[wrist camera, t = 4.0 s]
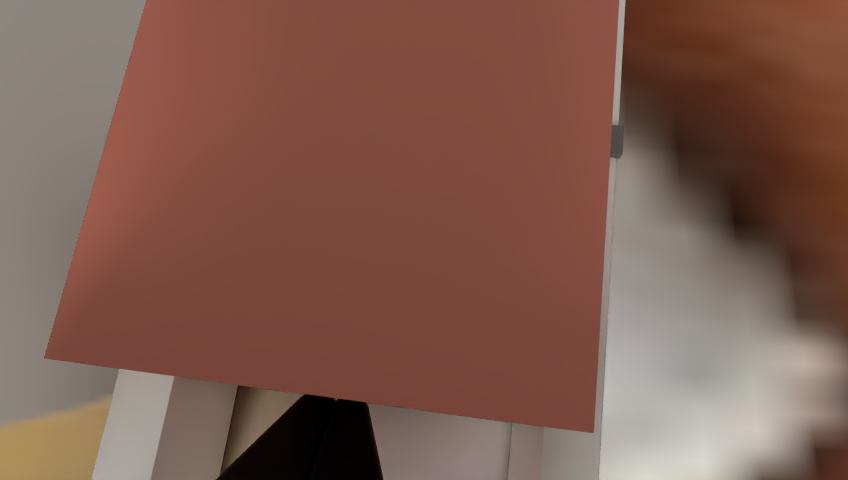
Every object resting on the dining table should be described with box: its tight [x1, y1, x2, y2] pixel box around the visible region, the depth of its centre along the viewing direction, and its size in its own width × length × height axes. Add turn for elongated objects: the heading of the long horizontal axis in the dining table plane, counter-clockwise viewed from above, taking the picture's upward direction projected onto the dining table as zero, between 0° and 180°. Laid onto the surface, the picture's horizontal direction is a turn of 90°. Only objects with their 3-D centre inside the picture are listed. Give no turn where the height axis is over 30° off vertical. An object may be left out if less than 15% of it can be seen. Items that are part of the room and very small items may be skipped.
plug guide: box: [92, 0, 625, 480], centre depth 14 cm, size 19×9×4 cm, turn 172°
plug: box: [44, 0, 619, 433], centre depth 11 cm, size 6×6×8 cm
